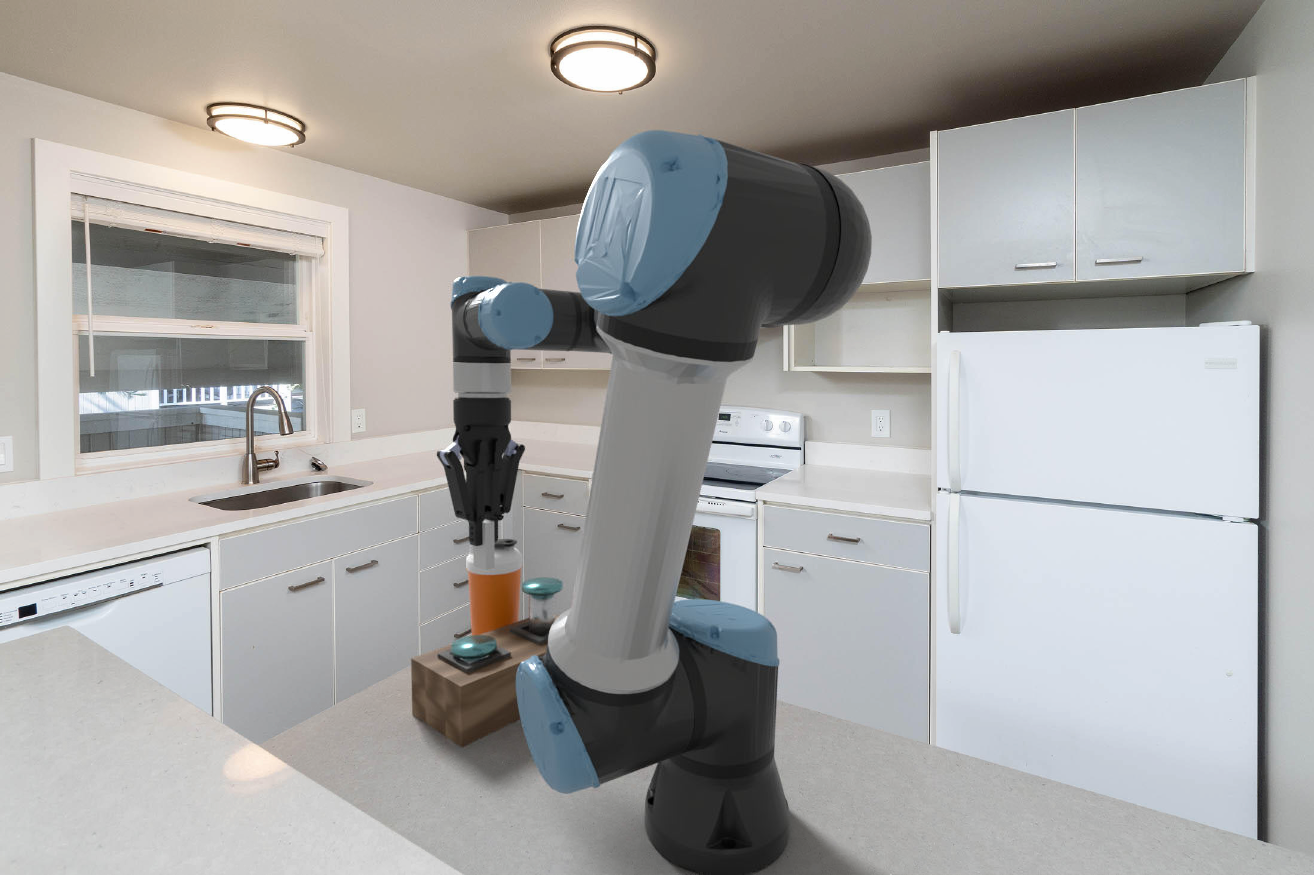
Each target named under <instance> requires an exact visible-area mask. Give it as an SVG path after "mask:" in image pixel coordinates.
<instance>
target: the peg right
mask: <svg viewBox="0 0 1314 875" xmlns="http://www.w3.org/2000/svg"><path fill="white" fill-rule="evenodd" d="M562 590H563V581H562V580H561V579H559V578H555V577H549V576H548V577H546V576H545V577H534V578H528V579H527V580H524V581H523V582H522V584H521V591H522V592H523V593H524V594H526V595H528V618H529V632H530V633H532V634H535V635H537V636H539V637H541V636H544V635H547V634H549V631H550V629H551V626H552V624H553V623H554V621H555V620H556V615H557V614H556V613H557V601H556V599H557V594H558V593H560V592H562Z"/></svg>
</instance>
